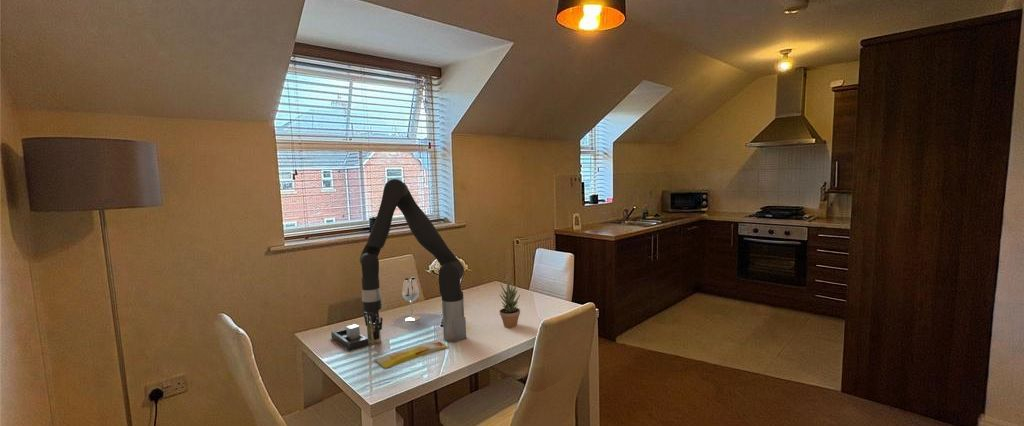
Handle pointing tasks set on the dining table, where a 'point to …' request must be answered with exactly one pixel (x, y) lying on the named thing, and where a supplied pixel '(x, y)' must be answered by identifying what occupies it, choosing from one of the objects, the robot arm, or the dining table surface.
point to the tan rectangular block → (372, 334)
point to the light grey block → (353, 332)
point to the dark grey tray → (352, 345)
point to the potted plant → (509, 306)
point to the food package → (410, 353)
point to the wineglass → (410, 295)
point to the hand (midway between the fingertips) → (374, 337)
